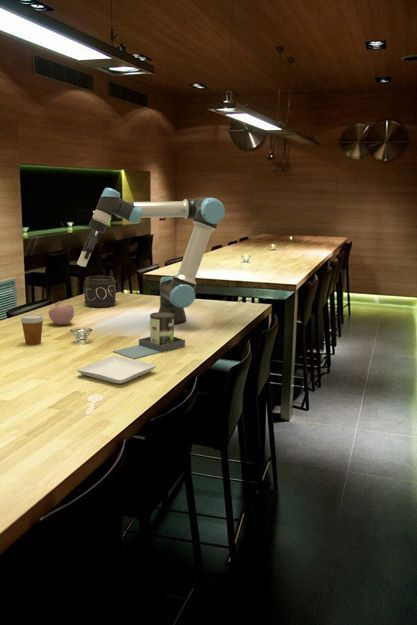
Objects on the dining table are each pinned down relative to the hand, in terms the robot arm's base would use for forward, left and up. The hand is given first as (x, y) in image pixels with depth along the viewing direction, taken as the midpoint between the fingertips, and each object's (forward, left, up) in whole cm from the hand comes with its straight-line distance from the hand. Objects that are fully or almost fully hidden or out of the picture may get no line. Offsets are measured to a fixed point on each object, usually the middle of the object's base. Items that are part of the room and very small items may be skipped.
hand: (80, 265), depth 268 cm
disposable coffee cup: (+24, -2, -32) cm, 40 cm away
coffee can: (-15, +38, -32) cm, 52 cm away
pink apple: (-4, -24, -32) cm, 40 cm away
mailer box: (-8, +38, -32) cm, 50 cm away
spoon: (+47, +75, -33) cm, 94 cm away
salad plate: (+23, +56, -33) cm, 69 cm away
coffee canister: (-46, -50, -32) cm, 75 cm away
